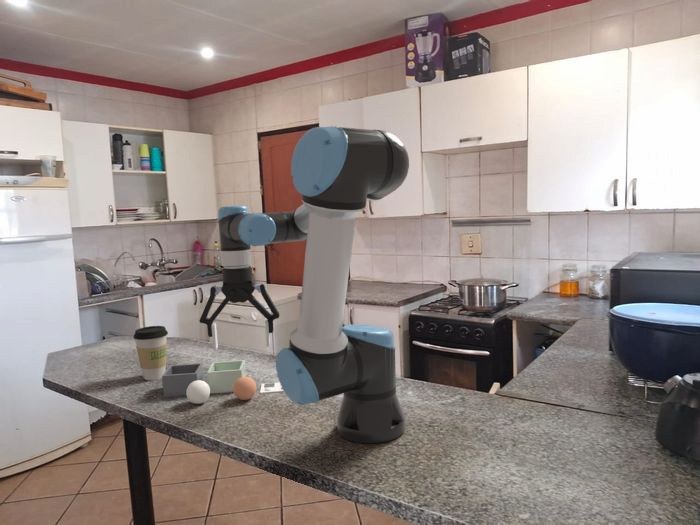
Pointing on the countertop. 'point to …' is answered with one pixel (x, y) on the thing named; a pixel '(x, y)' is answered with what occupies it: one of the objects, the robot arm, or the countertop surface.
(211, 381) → the sage open box
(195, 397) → the ball white
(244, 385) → the ball terracotta
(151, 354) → the coffee cup
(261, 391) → the card
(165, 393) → the grey open cubby box
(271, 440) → the countertop surface
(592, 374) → the countertop surface
